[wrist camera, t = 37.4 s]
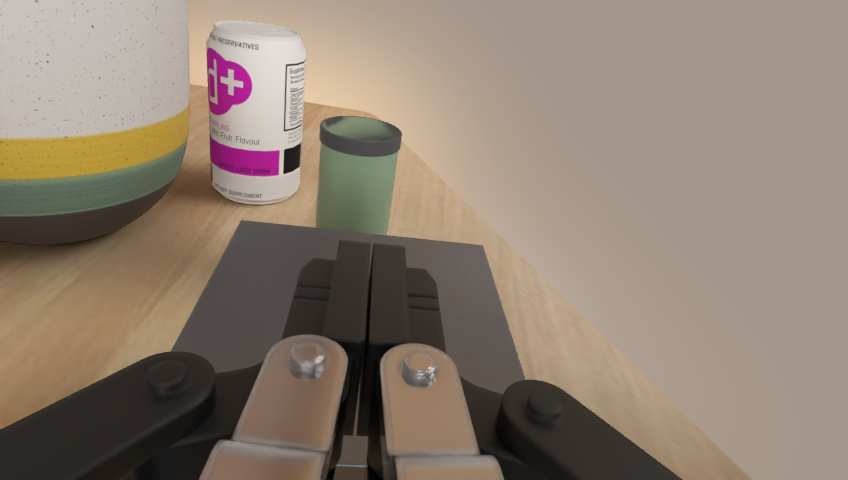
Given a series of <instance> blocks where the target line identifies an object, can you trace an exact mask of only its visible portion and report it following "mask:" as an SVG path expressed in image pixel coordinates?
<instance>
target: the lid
mask: <svg viewBox="0 0 848 480" xmlns="http://www.w3.org/2000/svg"><path fill="white" fill-rule="evenodd" d="M339 239H345V240H354V241H364V242H371V251H370V266H371V258H372V250H373V243H384V244H393V245H403V246H405V254H406V267H411V268H420V269H426V270H427V272H428V273H429V274H430V275H431V276H432V278H433V279H434V280H435V281H436V284H437V291H438V299H439V306H440V313H441V320H442V327H443V334H444V341H445V348H446V354H447V355H448V356H449V357H450V358H451V359H452V360H453V362H454V363H455V365H456V367H457V370H458V373H459V375H460V376H461V377H462V378H464V379H465V380H467V381H468V382H470V383H472V384H474V385H476V386H479V387H481V388H484V389H487V390H491V391H494V392H497V393H500V394H504V392H505V390H506V389H507V388H508V387H509V386H510V385H511V384H513V383H515V382H518V381H521V380H525V377H524V373H523V370H522V367H521V364H520V361H519V358H518V355H517V352H516V348H515V345H514V342H513V339H512V336H511V333H510V330H509V326H508V323H507V320H506V317H505V314H504V311H503V308H502V305H501V301H500V298H499V295H498V292H497V289H496V286H495V283H494V280H493V276H492V273H491V270H490V267H489V264H488V261H487V258H486V254H485V251H484V248H483V246H482V245H474V244H464V243H455V242H445V241H435V240H426V239H416V238H407V237H397V236H388V235H378V234H369V233H359V232H349V231H340V230H330V229H321V228H311V227H302V226H292V225H282V224H273V223H263V222H254V221H244V220H242V221H241V222H240V224H239V226H238V227H237V229H236V231H235V233H234V235H233V237H232V239H231V240H230V242H229V244H228V246H227V248H226V250H225V252H224V253H223V255H222V257H221V259H220V261H219V263H218V265H217V266H216V268H215V270H214V272H213V274H212V276H211V278H210V279H209V281H208V283H207V285H206V287H205V289H204V291H203V292H202V294H201V296H200V298H199V300H198V302H197V304H196V306H195V307H194V309H193V311H192V313H191V315H190V317H189V319H188V320H187V322H186V324H185V326H184V328H183V330H182V332H181V333H180V335H179V337H178V339H177V341H176V343H175V345H174V346H173V348H172V350H171V352H173V351H181V352H189V353H193V354H197V355H199V356H202V357H203V358H205V359H207V360H208V361H209V362H210V363H211V365H212V366H213V368H214V370H215V373H221V372H227V371H234V370H239V369H244V368H248V367H251V366H254V365H256V364H259V363H261V362H263V361H264V360H265V358H266V355H267V353H268V352H269V350H270V349H271V348H272V347H273V346H274V345H275V344H276V343H278V342H279V341H281V339H282V336H283V332H284V328H285V325H286V321H287V317H288V314H289V310H290V306H291V303H292V299H293V297H294V292H295V288H296V286H297V281H298V277H299V274H300V270H301V269H302V268H303V267H304V266H305V265H306V264H307V263H308V262H309V261H311V260H312V259H313V258H320V259H330V260H336V256H337V250H338V245H339ZM369 274H370V267H369ZM359 391H360V384H359ZM358 406H359V392H358V400H357V408H356V416H355V424H354V432H353V436H348V435H344V437H343V445H342V453H341V457H340V460H339V462H338V463H337V466H336V474H335V479H334V480H364V472H365V464H366V457H367V447H368V437H367V436H357V421H358Z"/></svg>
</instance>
